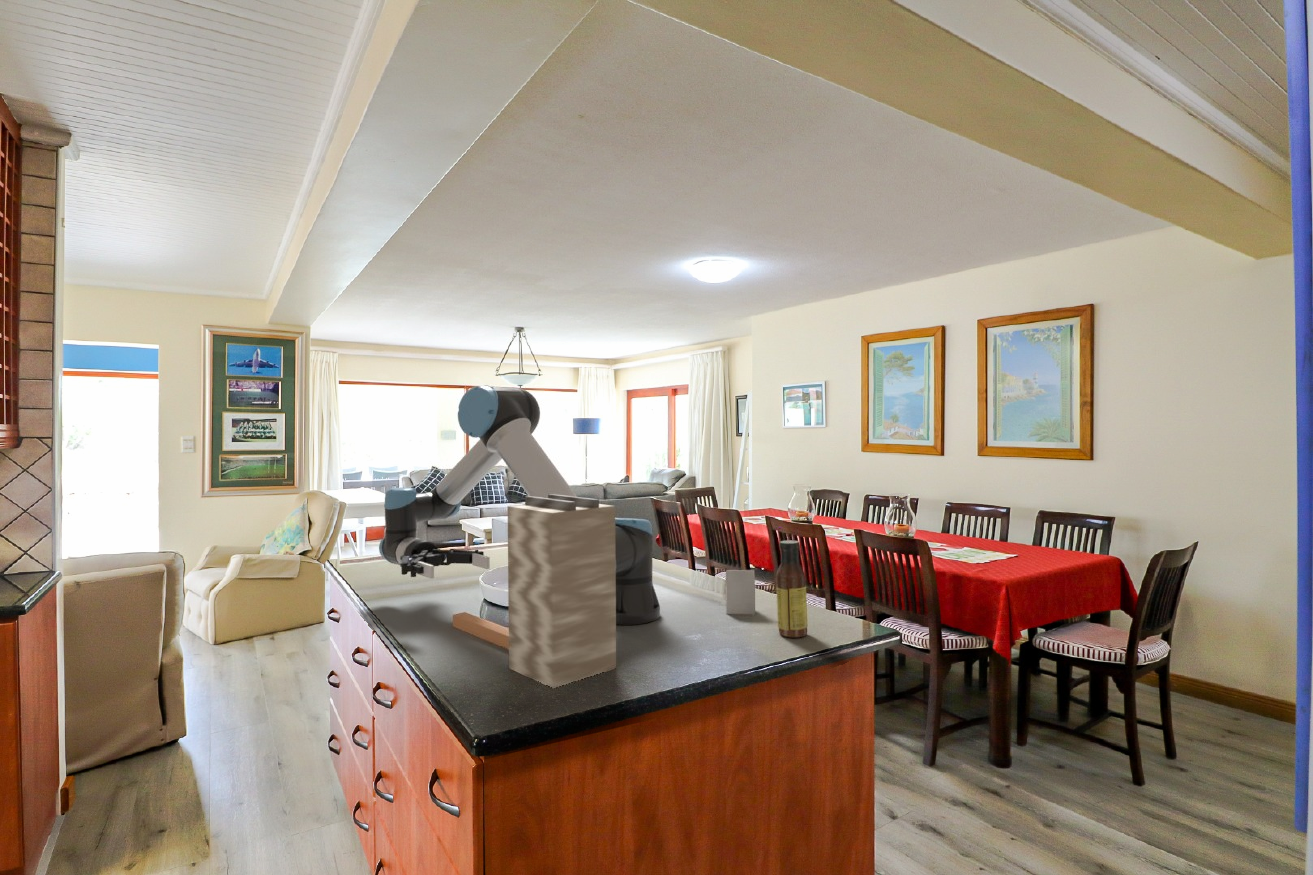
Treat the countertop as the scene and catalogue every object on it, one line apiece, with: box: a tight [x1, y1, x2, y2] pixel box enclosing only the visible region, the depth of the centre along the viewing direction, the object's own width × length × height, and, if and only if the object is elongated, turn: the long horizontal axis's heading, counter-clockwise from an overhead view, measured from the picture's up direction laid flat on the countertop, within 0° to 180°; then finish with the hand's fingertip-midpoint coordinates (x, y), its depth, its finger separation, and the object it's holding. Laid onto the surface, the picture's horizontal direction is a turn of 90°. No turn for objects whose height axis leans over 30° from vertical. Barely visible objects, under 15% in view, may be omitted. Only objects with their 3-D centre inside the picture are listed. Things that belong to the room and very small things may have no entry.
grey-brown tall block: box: [507, 494, 617, 690], centre depth 128 cm, size 14×14×32 cm
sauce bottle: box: [775, 539, 808, 639], centre depth 148 cm, size 7×6×20 cm
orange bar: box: [452, 611, 509, 650], centre depth 147 cm, size 26×3×3 cm, turn 45°
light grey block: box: [725, 569, 756, 615], centre depth 166 cm, size 4×7×10 cm, turn 88°
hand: (461, 567), depth 155 cm, fingers open, 13 cm apart
